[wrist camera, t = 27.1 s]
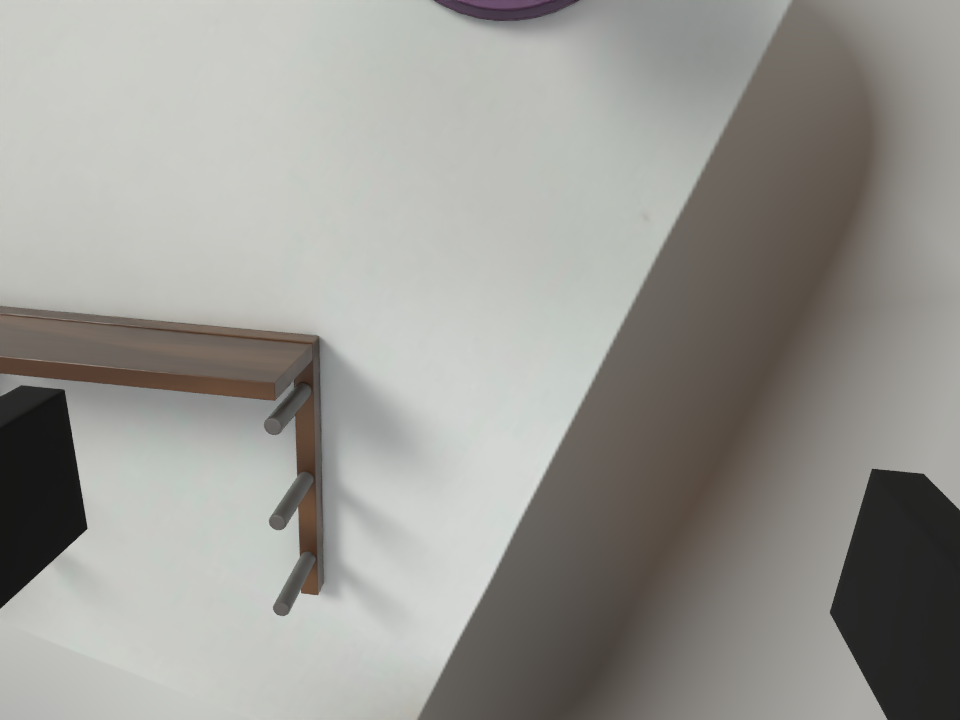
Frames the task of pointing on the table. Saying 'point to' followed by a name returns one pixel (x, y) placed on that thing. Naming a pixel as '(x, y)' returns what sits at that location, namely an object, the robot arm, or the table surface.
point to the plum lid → (505, 8)
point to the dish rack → (193, 389)
